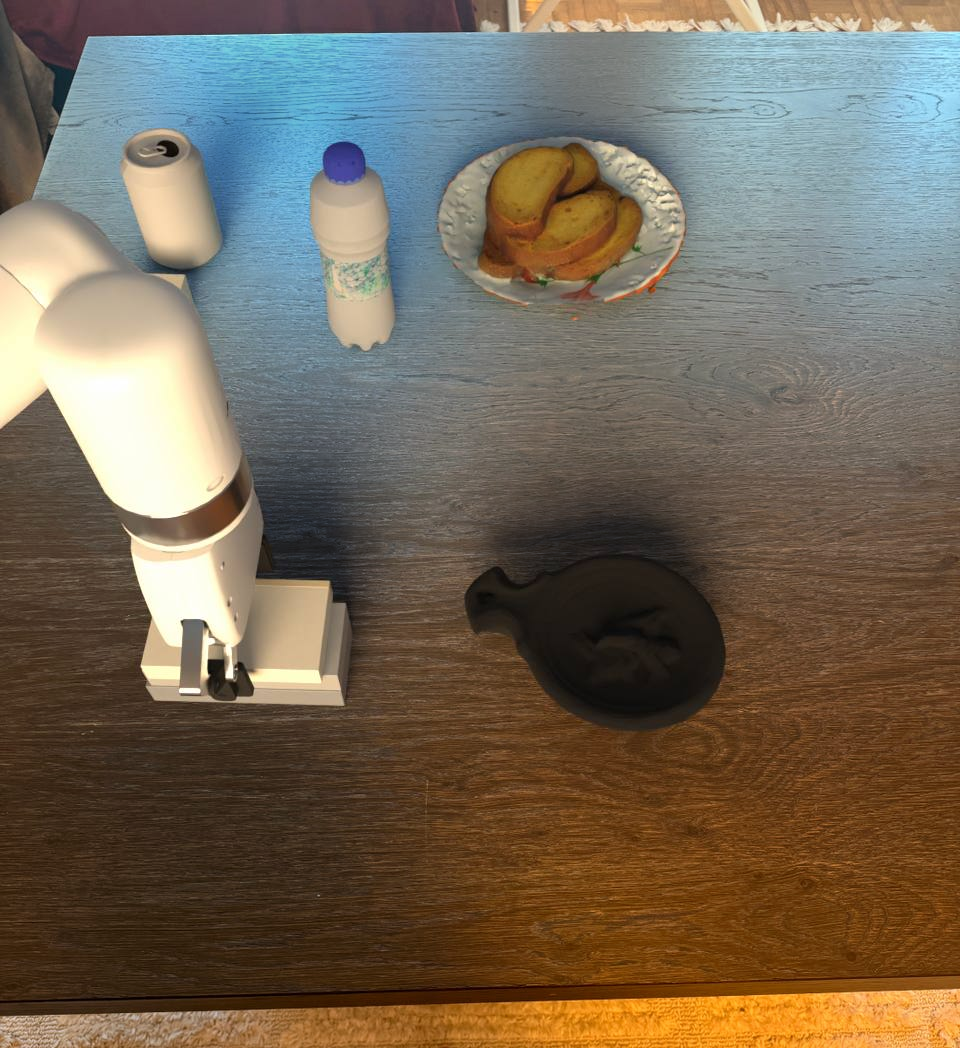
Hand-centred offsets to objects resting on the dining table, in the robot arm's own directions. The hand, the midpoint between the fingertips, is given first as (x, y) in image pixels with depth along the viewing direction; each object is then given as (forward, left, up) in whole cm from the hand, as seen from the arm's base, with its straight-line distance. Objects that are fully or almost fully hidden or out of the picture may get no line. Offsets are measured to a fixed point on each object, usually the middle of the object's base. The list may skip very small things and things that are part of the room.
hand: (242, 627), depth 67 cm
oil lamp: (+25, +2, -7) cm, 26 cm away
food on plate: (+24, +50, -7) cm, 56 cm away
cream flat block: (0, 0, -2) cm, 2 cm away
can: (-14, +46, -7) cm, 49 cm away
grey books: (0, 0, -7) cm, 7 cm away
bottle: (+5, +35, -7) cm, 36 cm away
